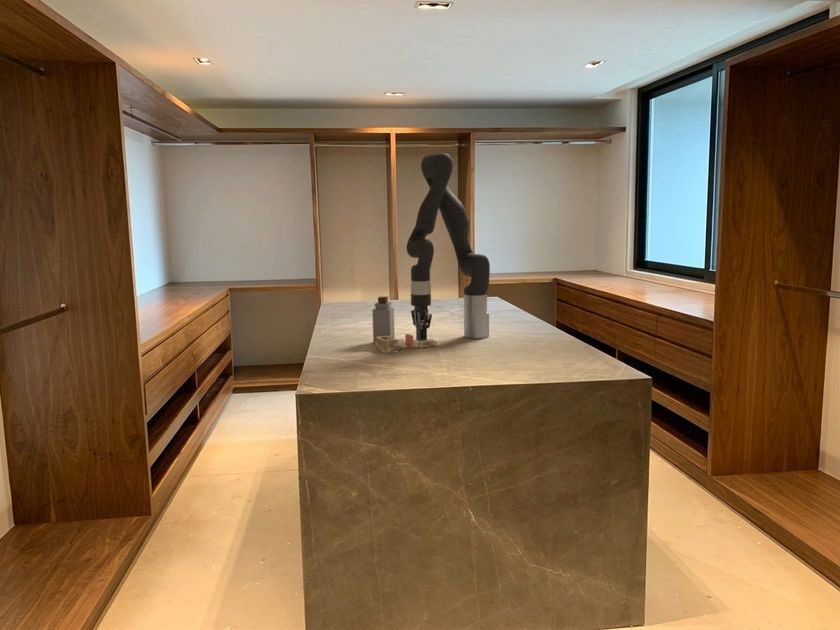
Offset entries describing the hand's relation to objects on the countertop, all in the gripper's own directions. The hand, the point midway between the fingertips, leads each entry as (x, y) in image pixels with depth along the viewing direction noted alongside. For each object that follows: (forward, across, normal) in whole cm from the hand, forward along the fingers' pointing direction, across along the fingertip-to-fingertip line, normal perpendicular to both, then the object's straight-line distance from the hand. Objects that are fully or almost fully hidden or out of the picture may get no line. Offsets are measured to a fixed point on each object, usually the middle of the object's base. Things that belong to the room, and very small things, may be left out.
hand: (421, 337), depth 243 cm
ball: (+1, 0, +8) cm, 9 cm away
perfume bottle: (+3, +13, +10) cm, 17 cm away
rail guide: (+3, 0, -2) cm, 3 cm away
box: (+3, 0, +14) cm, 14 cm away
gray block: (+3, 0, 0) cm, 3 cm away
